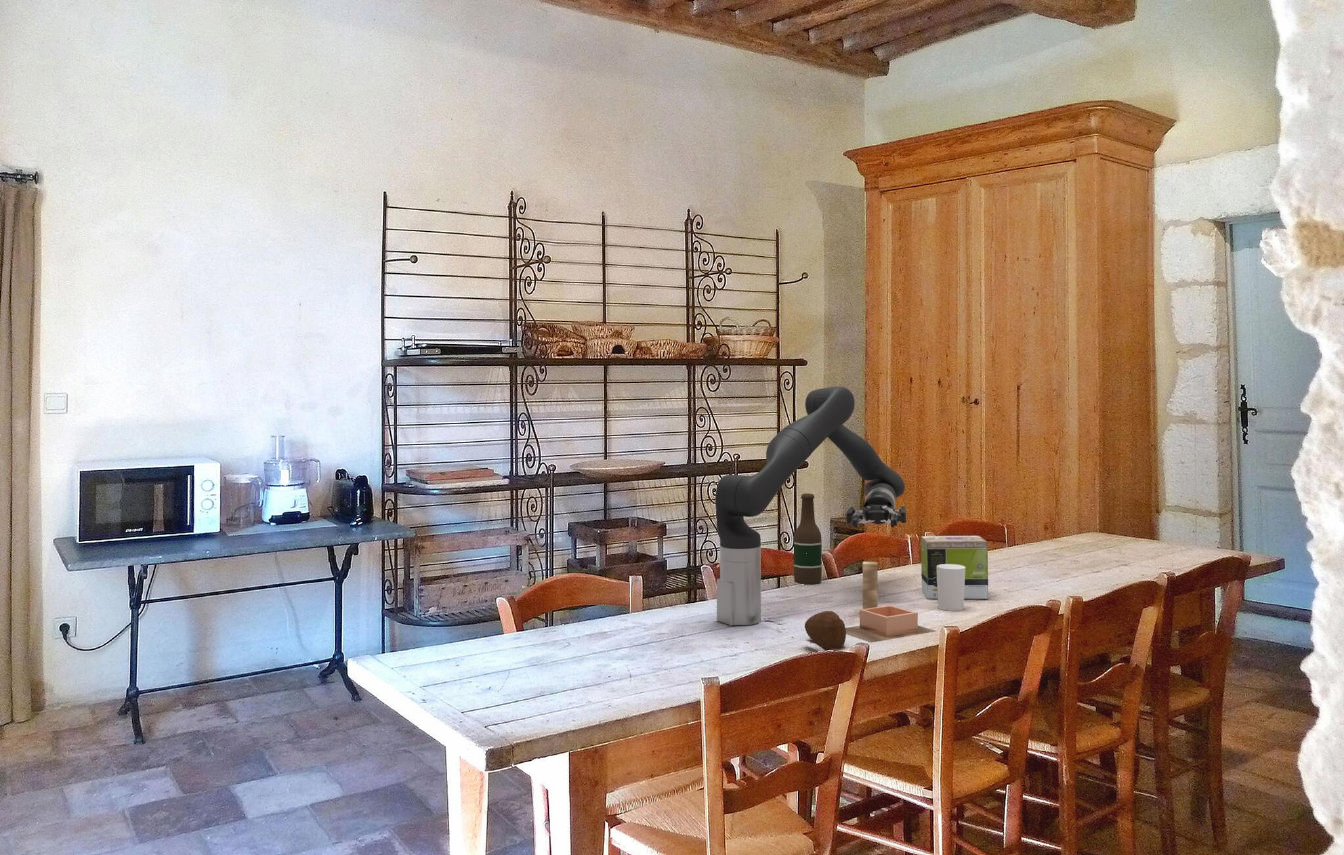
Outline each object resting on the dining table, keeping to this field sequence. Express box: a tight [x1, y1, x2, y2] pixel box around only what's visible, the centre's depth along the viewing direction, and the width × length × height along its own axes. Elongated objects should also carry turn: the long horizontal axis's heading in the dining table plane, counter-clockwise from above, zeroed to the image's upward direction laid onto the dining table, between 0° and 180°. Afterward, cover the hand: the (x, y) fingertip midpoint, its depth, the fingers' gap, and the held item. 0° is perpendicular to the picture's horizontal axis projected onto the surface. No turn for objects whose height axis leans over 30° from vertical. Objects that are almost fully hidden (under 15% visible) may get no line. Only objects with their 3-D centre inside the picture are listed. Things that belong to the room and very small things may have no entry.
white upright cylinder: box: [937, 564, 965, 612], centre depth 237 cm, size 7×7×10 cm
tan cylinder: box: [862, 561, 879, 609], centre depth 227 cm, size 4×4×13 cm
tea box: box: [920, 535, 989, 600], centre depth 251 cm, size 15×10×15 cm
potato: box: [804, 610, 847, 651], centre depth 202 cm, size 7×10×8 cm
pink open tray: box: [859, 604, 919, 637], centre depth 213 cm, size 9×9×4 cm
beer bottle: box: [793, 493, 823, 585], centre depth 270 cm, size 8×8×24 cm
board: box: [845, 625, 936, 643], centre depth 212 cm, size 18×12×1 cm, turn 119°
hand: (874, 523), depth 236 cm, fingers open, 8 cm apart
